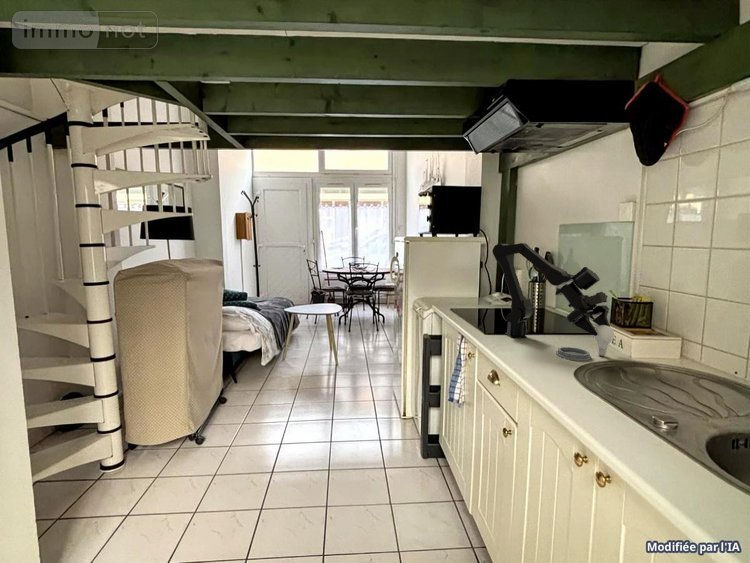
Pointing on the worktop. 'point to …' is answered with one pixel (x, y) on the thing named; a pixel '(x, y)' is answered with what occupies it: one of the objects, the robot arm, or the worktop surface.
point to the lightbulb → (603, 338)
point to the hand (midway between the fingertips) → (603, 333)
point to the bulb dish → (573, 354)
